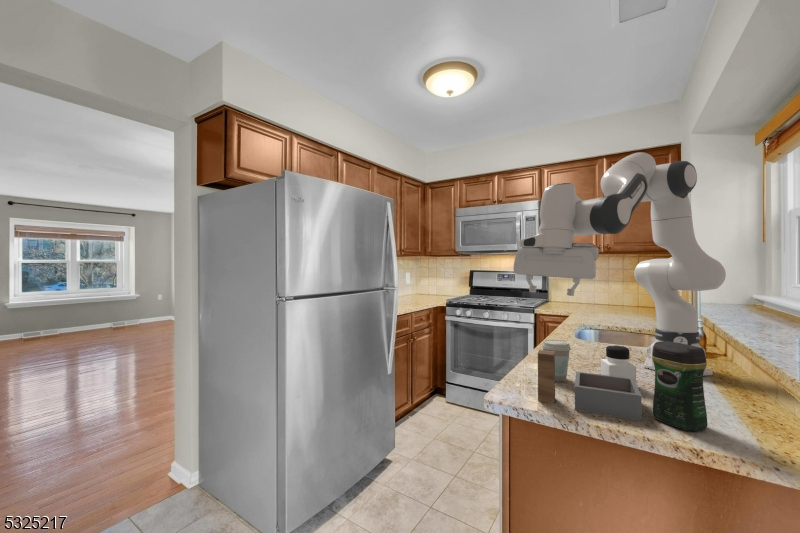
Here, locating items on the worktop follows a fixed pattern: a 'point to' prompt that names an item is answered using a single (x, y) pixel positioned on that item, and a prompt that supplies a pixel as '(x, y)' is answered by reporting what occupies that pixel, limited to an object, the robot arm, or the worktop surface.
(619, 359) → the medicine bottle
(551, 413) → the worktop surface
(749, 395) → the worktop surface
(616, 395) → the box
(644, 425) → the worktop surface
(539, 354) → the peg
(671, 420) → the coffee jar
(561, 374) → the coffee cup
